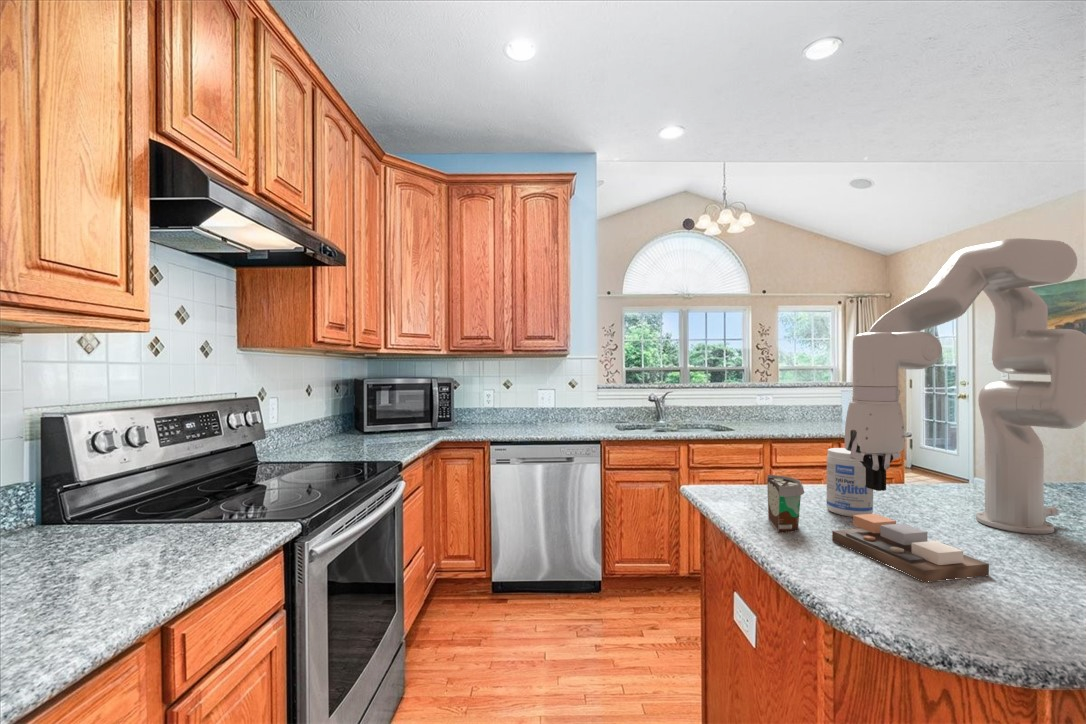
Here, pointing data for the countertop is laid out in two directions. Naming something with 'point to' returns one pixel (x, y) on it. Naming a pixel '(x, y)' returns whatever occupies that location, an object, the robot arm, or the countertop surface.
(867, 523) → the terracotta key
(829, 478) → the supplement tub
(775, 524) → the food container
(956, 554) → the cream key
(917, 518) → the countertop surface
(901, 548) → the keypad board
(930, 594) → the countertop surface
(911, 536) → the grey key
